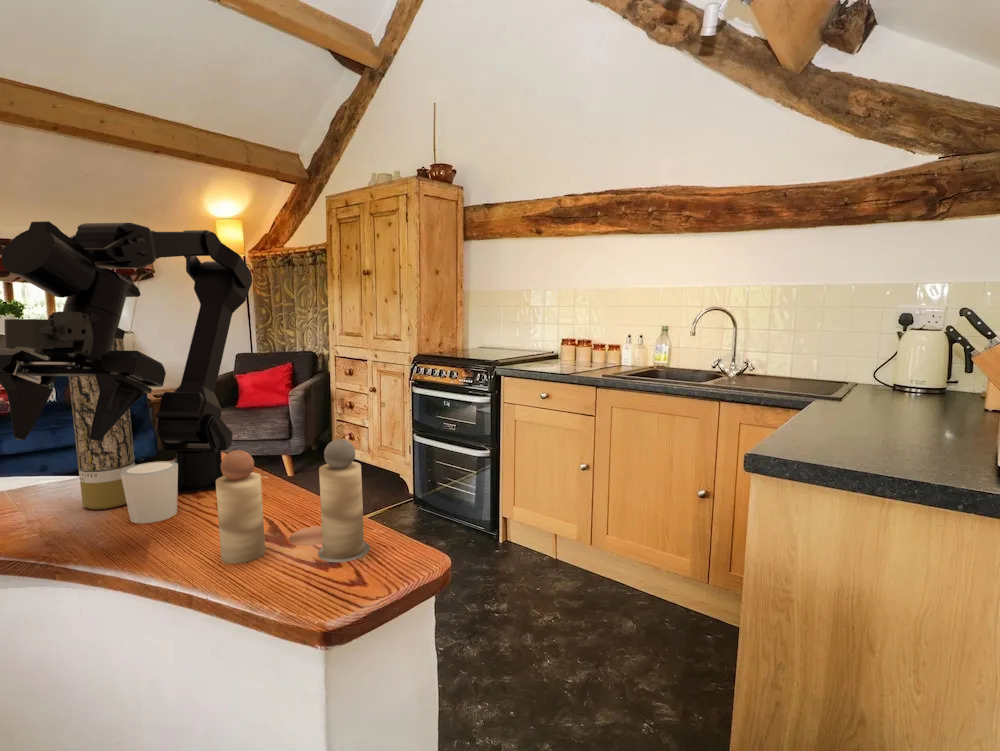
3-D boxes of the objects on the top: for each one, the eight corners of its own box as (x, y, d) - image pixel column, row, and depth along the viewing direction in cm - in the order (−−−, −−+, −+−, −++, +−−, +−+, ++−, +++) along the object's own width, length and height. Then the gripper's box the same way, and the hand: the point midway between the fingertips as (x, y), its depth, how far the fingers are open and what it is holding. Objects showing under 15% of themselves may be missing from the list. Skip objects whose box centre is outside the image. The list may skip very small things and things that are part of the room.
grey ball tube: (358, 539, 68) (354, 432, 66) (368, 553, 64) (364, 441, 62) (319, 547, 66) (314, 437, 64) (327, 562, 62) (322, 446, 60)
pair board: (273, 544, 69) (272, 536, 69) (323, 527, 74) (323, 519, 74) (332, 577, 60) (332, 569, 60) (385, 555, 66) (384, 547, 66)
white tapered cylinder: (121, 514, 79) (117, 466, 78) (177, 503, 83) (173, 457, 82) (128, 529, 74) (123, 478, 73) (187, 516, 78) (183, 468, 77)
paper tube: (110, 512, 80) (92, 337, 76) (70, 509, 81) (51, 336, 78) (148, 496, 86) (134, 334, 83) (111, 493, 87) (95, 333, 84)
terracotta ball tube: (263, 550, 67) (256, 443, 66) (268, 566, 63) (260, 452, 62) (221, 559, 65) (212, 448, 63) (222, 575, 61) (214, 458, 59)
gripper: (-43, 284, 62) (-95, 422, 57) (116, 283, 60) (78, 424, 55) (42, 325, 72) (5, 444, 67) (180, 324, 71) (152, 446, 66)
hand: (56, 439), depth 64 cm, fingers open, 9 cm apart
